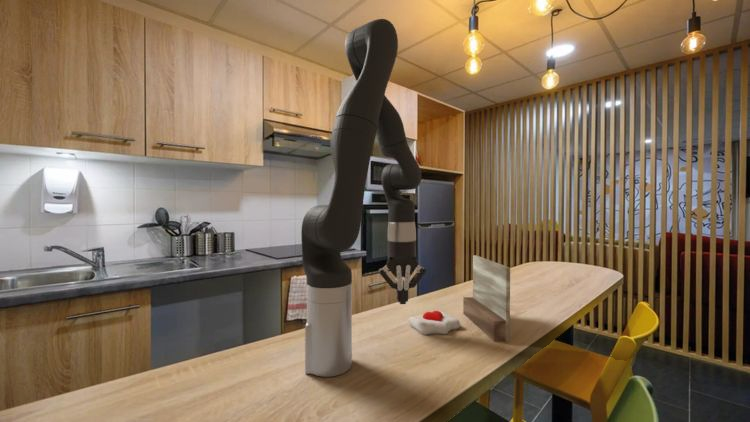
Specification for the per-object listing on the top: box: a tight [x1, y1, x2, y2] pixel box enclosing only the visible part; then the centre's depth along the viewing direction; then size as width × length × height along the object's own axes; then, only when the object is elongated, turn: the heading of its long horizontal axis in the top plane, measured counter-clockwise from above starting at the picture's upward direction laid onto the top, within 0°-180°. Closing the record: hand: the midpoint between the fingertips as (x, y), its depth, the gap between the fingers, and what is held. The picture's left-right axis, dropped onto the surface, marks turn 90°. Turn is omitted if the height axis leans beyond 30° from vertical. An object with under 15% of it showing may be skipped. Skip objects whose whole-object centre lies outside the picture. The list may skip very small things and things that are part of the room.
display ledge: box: [462, 254, 511, 342], centre depth 86 cm, size 4×20×18 cm, turn 5°
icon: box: [408, 310, 461, 336], centre depth 85 cm, size 12×4×10 cm
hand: (402, 303), depth 83 cm, fingers closed
